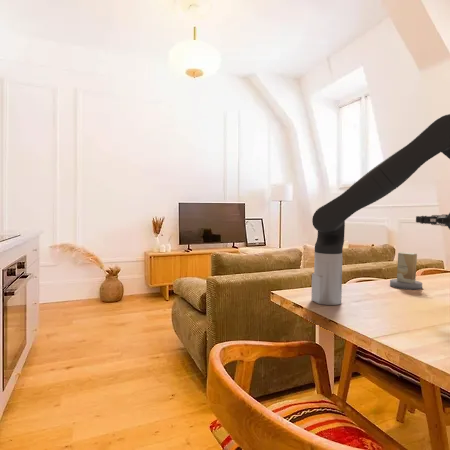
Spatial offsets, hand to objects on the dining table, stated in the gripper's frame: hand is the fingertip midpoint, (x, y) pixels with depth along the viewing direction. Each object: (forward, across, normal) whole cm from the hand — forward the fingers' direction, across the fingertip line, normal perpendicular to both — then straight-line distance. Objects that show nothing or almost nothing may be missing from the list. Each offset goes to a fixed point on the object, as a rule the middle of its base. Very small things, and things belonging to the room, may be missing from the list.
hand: (426, 219), depth 121 cm
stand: (+19, -9, +29) cm, 36 cm away
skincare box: (+19, -9, +27) cm, 34 cm away
